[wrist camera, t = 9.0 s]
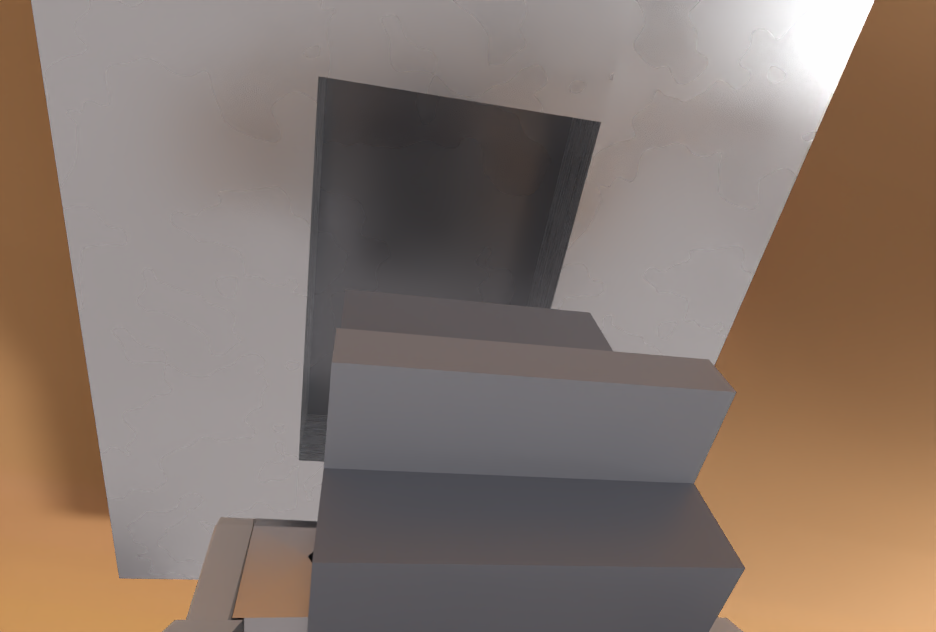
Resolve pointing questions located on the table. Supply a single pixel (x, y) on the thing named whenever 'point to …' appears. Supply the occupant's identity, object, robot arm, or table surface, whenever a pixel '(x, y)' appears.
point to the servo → (513, 476)
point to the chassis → (394, 202)
